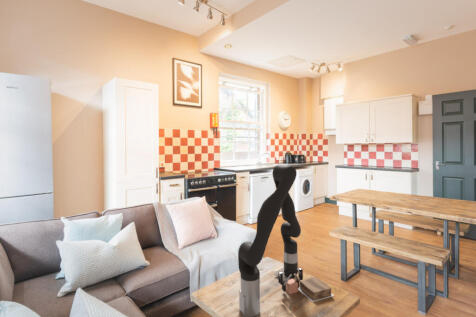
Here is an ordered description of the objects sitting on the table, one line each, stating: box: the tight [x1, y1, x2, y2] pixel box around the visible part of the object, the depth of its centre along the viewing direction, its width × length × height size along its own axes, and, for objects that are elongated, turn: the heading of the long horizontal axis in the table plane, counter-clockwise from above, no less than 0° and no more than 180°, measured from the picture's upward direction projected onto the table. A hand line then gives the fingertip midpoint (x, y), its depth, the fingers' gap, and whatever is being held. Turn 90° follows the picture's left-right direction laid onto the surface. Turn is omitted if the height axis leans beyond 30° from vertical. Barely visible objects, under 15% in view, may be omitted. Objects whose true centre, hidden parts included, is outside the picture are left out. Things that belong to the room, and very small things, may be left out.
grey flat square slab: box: [298, 286, 335, 303], centre depth 140 cm, size 14×14×1 cm
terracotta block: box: [286, 278, 299, 295], centre depth 142 cm, size 5×5×6 cm
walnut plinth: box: [299, 277, 332, 300], centre depth 140 cm, size 11×12×4 cm
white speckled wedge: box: [273, 264, 284, 278], centre depth 157 cm, size 6×8×12 cm
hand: (290, 289), depth 141 cm, fingers open, 7 cm apart
